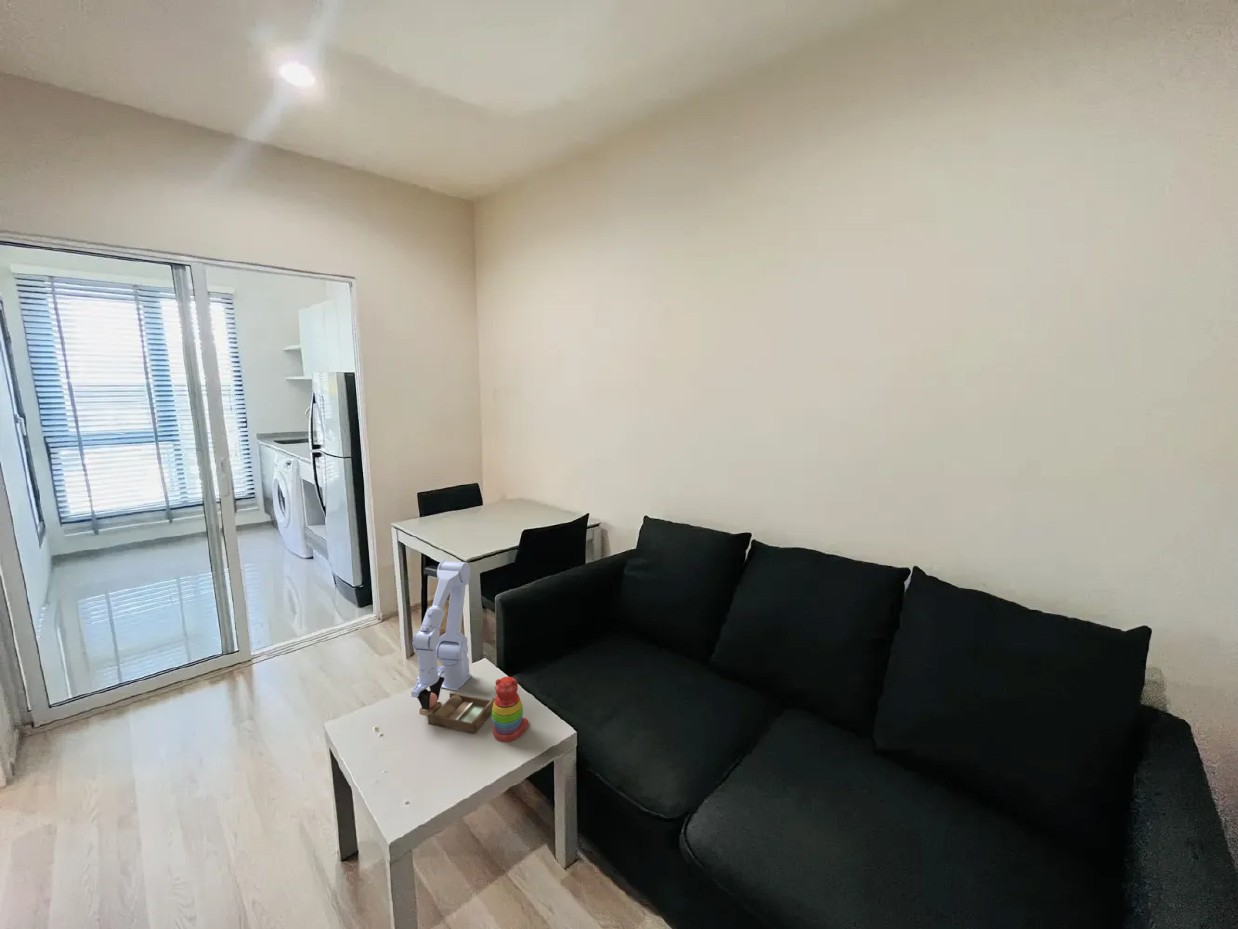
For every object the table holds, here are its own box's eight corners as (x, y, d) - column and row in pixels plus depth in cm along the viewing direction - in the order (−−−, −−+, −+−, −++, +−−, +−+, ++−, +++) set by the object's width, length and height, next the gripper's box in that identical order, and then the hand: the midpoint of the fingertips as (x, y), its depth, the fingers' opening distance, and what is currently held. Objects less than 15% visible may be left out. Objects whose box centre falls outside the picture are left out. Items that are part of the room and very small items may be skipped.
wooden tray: (451, 708, 167) (450, 689, 166) (495, 717, 163) (494, 698, 162) (429, 732, 156) (427, 712, 155) (475, 742, 151) (474, 722, 150)
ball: (429, 700, 164) (428, 688, 164) (440, 703, 163) (439, 691, 163) (420, 709, 160) (419, 696, 160) (432, 711, 159) (431, 699, 158)
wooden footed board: (429, 703, 165) (428, 699, 165) (442, 706, 164) (441, 701, 163) (419, 713, 160) (419, 708, 160) (432, 716, 159) (432, 711, 159)
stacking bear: (530, 721, 157) (528, 669, 154) (520, 744, 147) (518, 689, 144) (497, 718, 158) (494, 667, 155) (485, 741, 148) (482, 687, 145)
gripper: (431, 652, 167) (433, 689, 170) (401, 676, 154) (405, 716, 156) (449, 655, 166) (451, 692, 168) (421, 680, 152) (424, 720, 154)
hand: (430, 704), depth 162 cm, fingers closed on ball, 4 cm apart
